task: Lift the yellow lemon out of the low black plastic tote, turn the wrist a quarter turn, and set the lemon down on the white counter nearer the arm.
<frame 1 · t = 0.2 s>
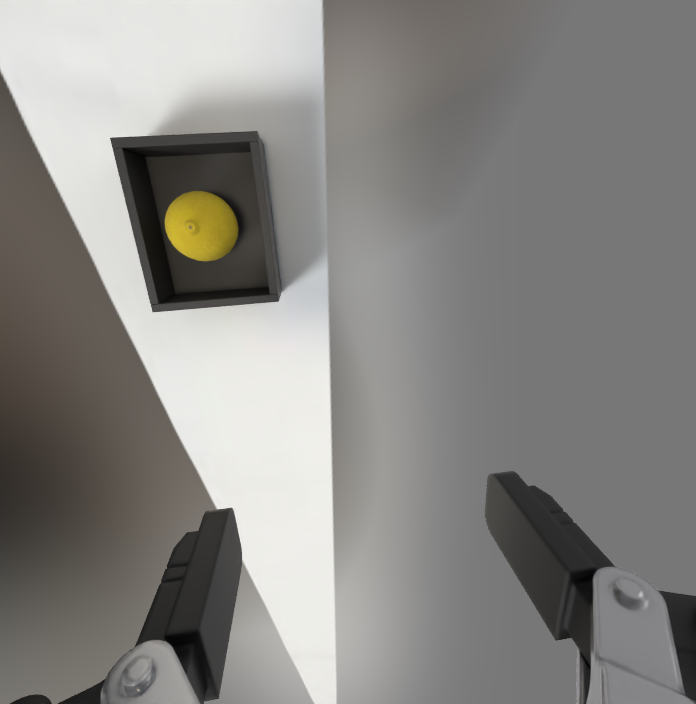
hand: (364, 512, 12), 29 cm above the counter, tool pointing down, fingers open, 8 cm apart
tote: (214, 226, 35), on the counter
lemon: (214, 226, 35), resting on tote
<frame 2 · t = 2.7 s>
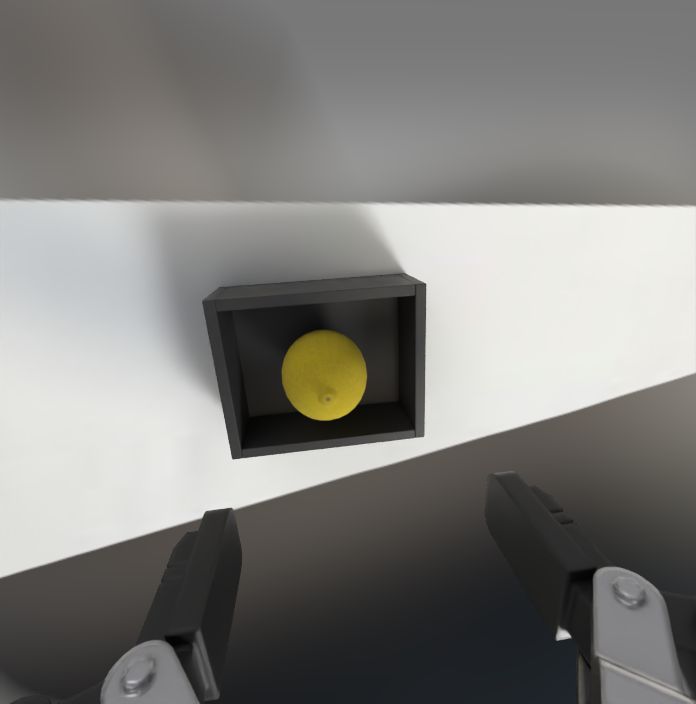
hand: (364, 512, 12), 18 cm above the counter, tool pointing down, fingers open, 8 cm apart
tote: (320, 351, 29), on the counter
lemon: (320, 352, 28), resting on tote
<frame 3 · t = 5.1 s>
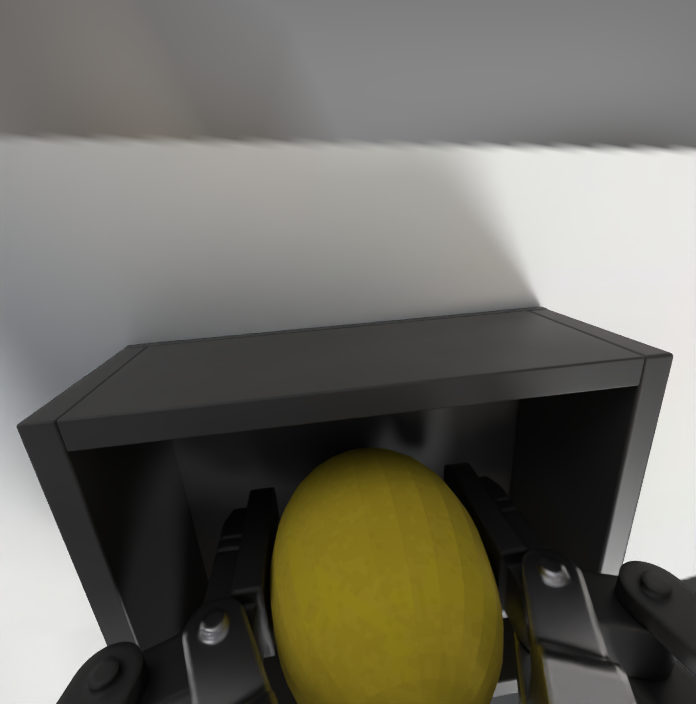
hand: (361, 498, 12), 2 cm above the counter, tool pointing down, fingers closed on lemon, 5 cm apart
tote: (355, 466, 14), on the counter
lemon: (355, 468, 14), resting on tote, touching gripper
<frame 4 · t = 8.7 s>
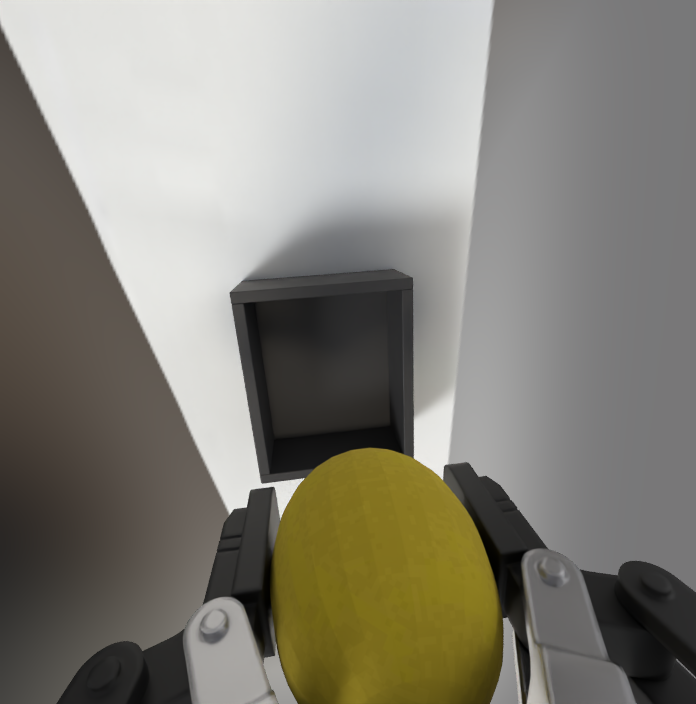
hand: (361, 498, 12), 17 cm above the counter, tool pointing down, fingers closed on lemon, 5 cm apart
tote: (327, 362, 29), on the counter
lemon: (355, 468, 14), point 15 cm above the counter, touching gripper
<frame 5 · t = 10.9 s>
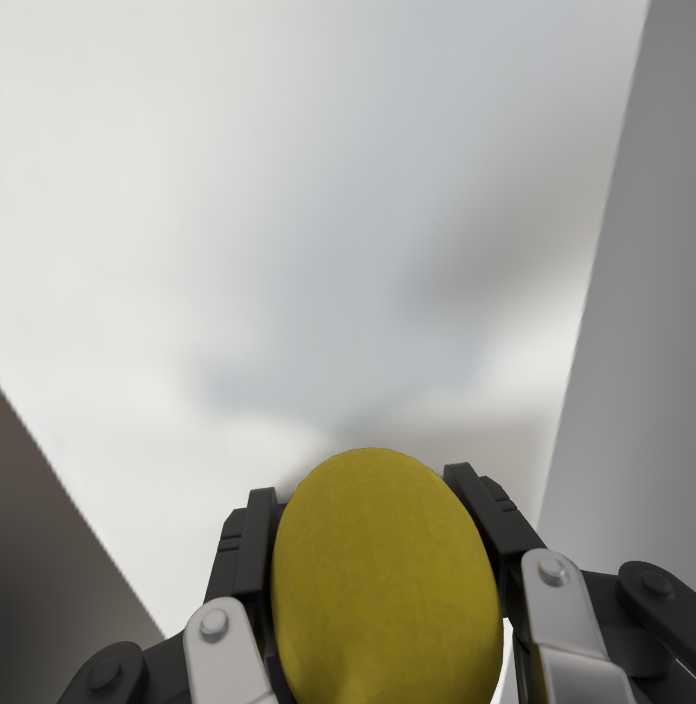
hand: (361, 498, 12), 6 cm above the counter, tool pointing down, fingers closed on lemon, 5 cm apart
tote: (360, 585, 22), on the counter
lemon: (355, 468, 14), point 5 cm above the counter, touching gripper
when the fingers open (1 cm above the counter, at t = 12.6 s): lemon stays where it is, on the counter.
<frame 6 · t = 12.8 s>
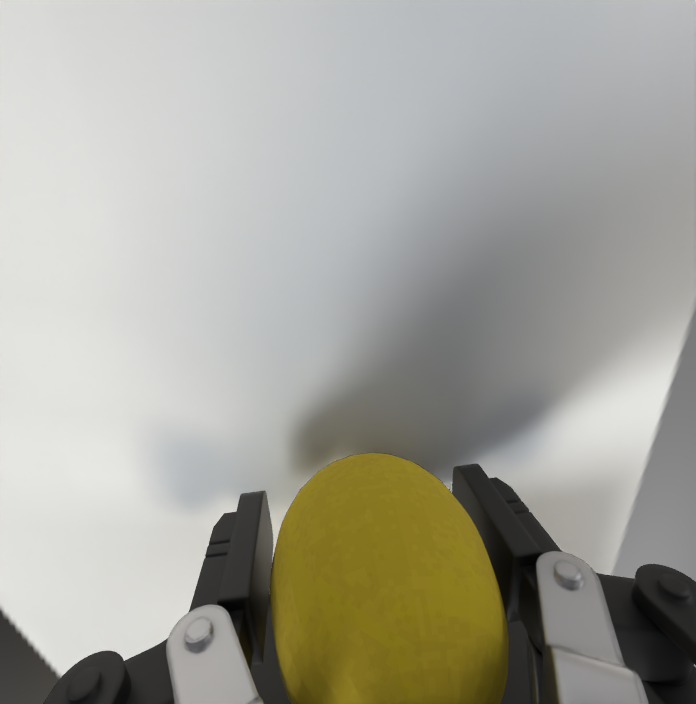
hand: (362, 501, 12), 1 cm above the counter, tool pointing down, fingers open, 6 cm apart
tote: (377, 685, 17), on the counter
lemon: (356, 472, 14), on the counter
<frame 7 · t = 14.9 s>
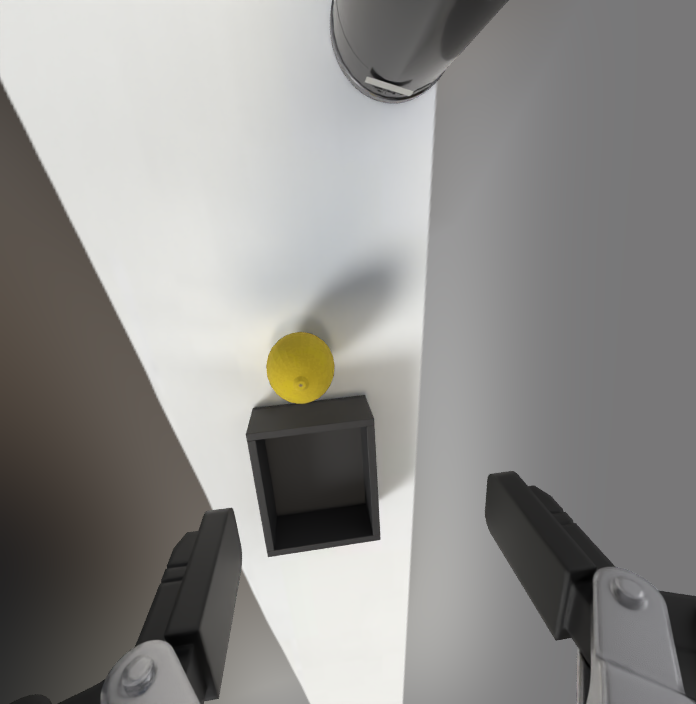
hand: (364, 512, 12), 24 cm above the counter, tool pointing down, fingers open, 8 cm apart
tote: (316, 460, 38), on the counter
lemon: (300, 351, 35), on the counter
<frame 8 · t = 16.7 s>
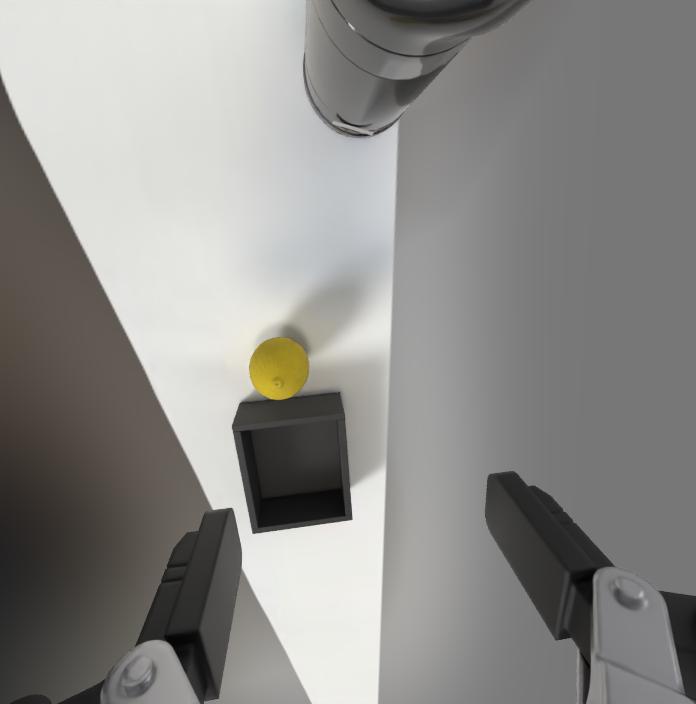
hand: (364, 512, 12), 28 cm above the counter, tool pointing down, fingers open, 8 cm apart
tote: (296, 449, 43), on the counter
lemon: (281, 352, 39), on the counter
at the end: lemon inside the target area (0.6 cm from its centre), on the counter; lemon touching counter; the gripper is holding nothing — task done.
